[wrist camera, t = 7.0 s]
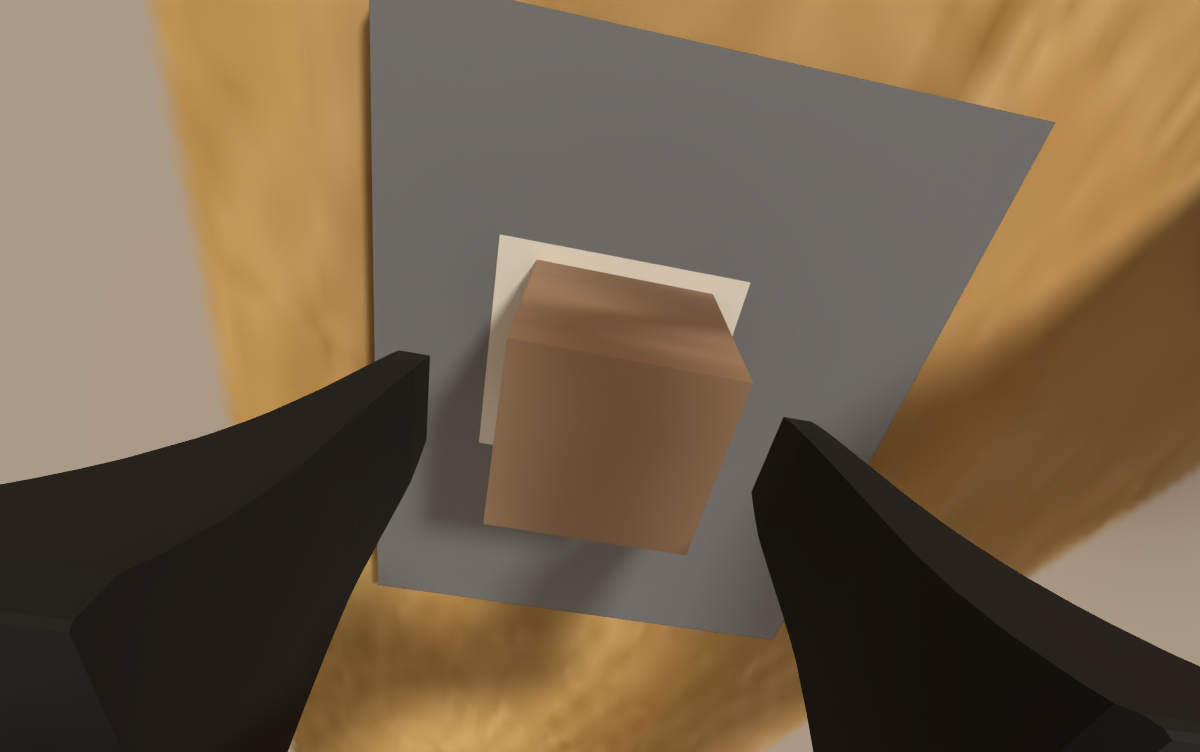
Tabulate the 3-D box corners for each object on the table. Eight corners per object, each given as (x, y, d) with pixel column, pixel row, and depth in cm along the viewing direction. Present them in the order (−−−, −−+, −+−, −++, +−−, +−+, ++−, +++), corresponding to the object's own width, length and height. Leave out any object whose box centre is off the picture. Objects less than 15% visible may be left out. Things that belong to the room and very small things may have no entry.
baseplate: (1027, 119, 11) (1056, 122, 10) (766, 619, 19) (772, 641, 18) (385, -26, 10) (368, -33, 10) (387, 564, 18) (377, 585, 17)
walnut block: (713, 294, 12) (753, 382, 9) (668, 436, 14) (686, 555, 11) (537, 259, 12) (506, 338, 8) (515, 409, 14) (482, 523, 10)
